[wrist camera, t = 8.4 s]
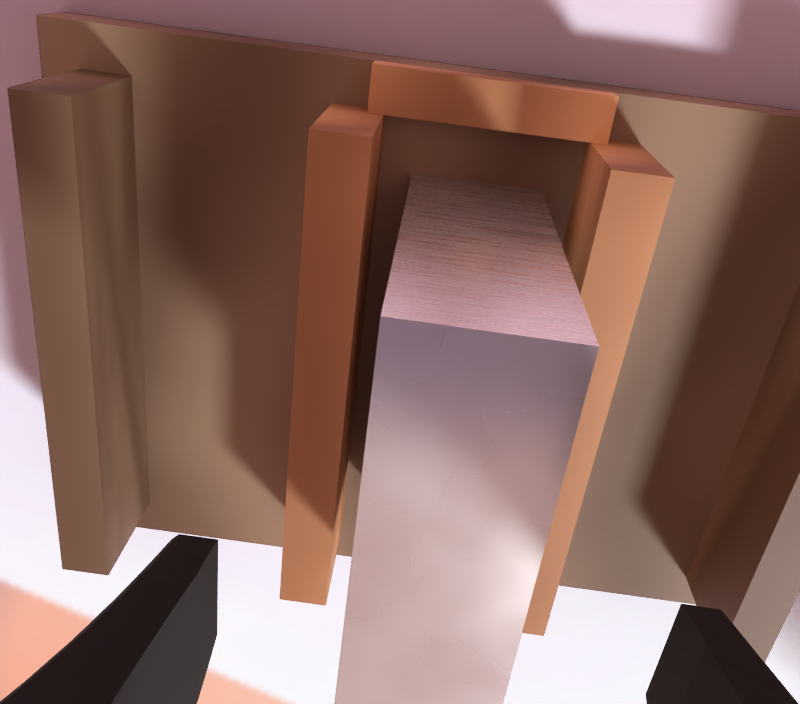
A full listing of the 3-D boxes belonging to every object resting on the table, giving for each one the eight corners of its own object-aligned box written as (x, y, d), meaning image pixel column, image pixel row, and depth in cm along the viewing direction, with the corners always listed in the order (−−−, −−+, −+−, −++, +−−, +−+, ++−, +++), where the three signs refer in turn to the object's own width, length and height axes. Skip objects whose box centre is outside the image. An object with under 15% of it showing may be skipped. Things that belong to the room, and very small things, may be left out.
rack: (924, 127, 17) (1052, 172, 14) (731, 582, 24) (781, 696, 20) (61, 12, 18) (-46, 24, 14) (100, 494, 24) (34, 592, 20)
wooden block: (476, 500, 22) (486, 765, 14) (371, 486, 22) (330, 743, 14) (541, 190, 17) (598, 346, 10) (411, 173, 17) (380, 315, 10)
